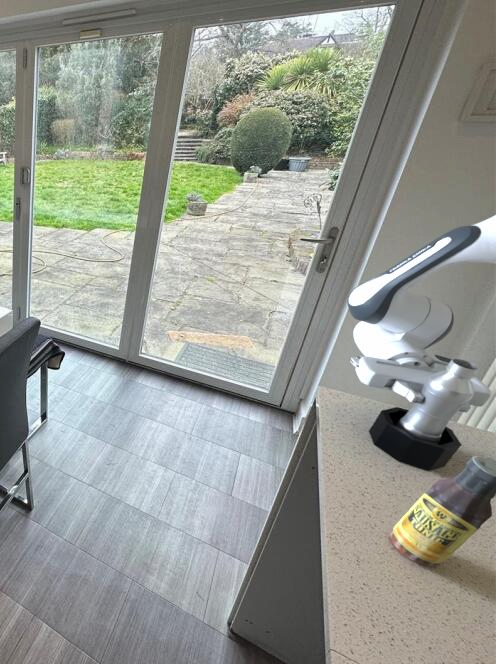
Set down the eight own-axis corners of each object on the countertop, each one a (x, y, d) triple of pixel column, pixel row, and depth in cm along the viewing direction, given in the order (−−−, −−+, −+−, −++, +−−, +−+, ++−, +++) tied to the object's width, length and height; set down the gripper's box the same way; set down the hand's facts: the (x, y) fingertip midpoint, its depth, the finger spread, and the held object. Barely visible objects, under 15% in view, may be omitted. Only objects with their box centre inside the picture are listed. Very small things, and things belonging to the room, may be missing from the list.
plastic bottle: (425, 439, 86) (482, 361, 76) (435, 460, 80) (497, 379, 71) (386, 426, 88) (435, 350, 79) (393, 446, 83) (447, 367, 74)
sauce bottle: (378, 538, 67) (444, 452, 58) (401, 526, 69) (468, 441, 60) (428, 578, 62) (509, 489, 53) (451, 563, 64) (533, 476, 55)
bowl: (393, 425, 91) (407, 404, 88) (455, 463, 82) (472, 441, 79) (357, 433, 89) (370, 412, 86) (417, 474, 79) (433, 452, 76)
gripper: (352, 343, 92) (382, 379, 80) (469, 362, 86) (519, 404, 74) (340, 366, 95) (368, 404, 83) (452, 386, 89) (498, 430, 77)
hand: (440, 404), depth 79 cm, fingers closed on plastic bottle, 6 cm apart
